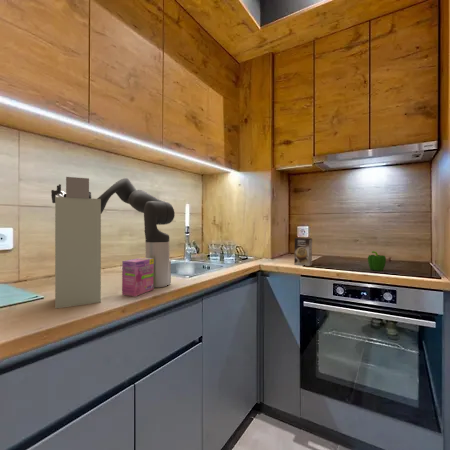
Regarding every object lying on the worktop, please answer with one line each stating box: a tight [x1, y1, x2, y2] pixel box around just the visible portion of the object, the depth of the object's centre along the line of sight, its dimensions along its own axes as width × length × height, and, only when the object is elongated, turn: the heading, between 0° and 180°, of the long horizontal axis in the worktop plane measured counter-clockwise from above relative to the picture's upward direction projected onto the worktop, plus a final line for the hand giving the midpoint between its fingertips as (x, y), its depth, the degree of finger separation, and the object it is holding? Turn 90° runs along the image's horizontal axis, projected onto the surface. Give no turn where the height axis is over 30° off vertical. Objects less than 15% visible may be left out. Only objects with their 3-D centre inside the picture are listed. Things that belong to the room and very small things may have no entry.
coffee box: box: [293, 237, 313, 267], centre depth 167 cm, size 9×6×16 cm
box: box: [121, 257, 154, 297], centre depth 98 cm, size 10×6×12 cm, turn 158°
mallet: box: [65, 176, 90, 198], centre depth 92 cm, size 22×6×6 cm, turn 29°
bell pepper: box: [367, 250, 387, 272], centre depth 147 cm, size 8×8×10 cm
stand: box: [54, 196, 102, 309], centre depth 88 cm, size 12×12×32 cm
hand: (72, 186), depth 109 cm, fingers open, 8 cm apart
